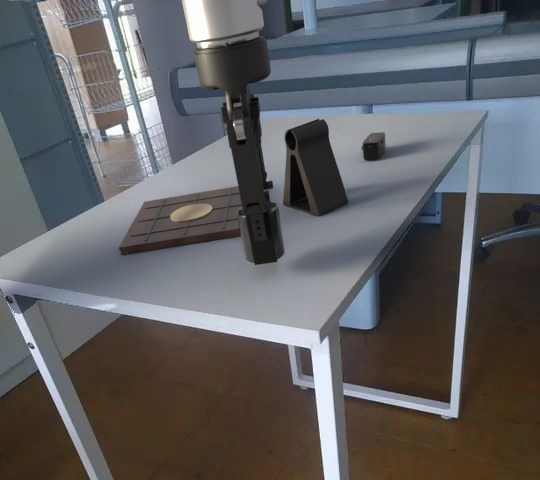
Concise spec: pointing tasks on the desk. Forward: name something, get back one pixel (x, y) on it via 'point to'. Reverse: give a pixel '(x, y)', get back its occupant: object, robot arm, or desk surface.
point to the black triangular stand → (312, 170)
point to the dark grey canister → (275, 230)
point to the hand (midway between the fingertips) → (265, 251)
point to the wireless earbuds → (373, 146)
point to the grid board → (184, 220)
